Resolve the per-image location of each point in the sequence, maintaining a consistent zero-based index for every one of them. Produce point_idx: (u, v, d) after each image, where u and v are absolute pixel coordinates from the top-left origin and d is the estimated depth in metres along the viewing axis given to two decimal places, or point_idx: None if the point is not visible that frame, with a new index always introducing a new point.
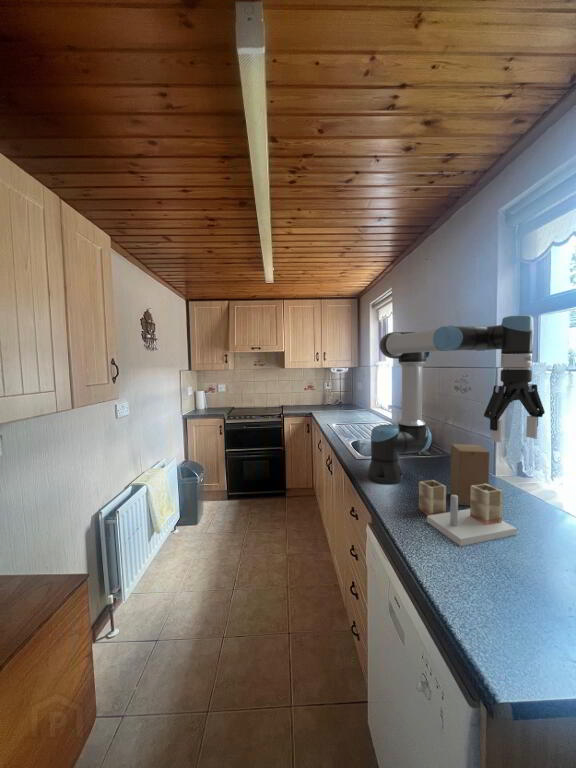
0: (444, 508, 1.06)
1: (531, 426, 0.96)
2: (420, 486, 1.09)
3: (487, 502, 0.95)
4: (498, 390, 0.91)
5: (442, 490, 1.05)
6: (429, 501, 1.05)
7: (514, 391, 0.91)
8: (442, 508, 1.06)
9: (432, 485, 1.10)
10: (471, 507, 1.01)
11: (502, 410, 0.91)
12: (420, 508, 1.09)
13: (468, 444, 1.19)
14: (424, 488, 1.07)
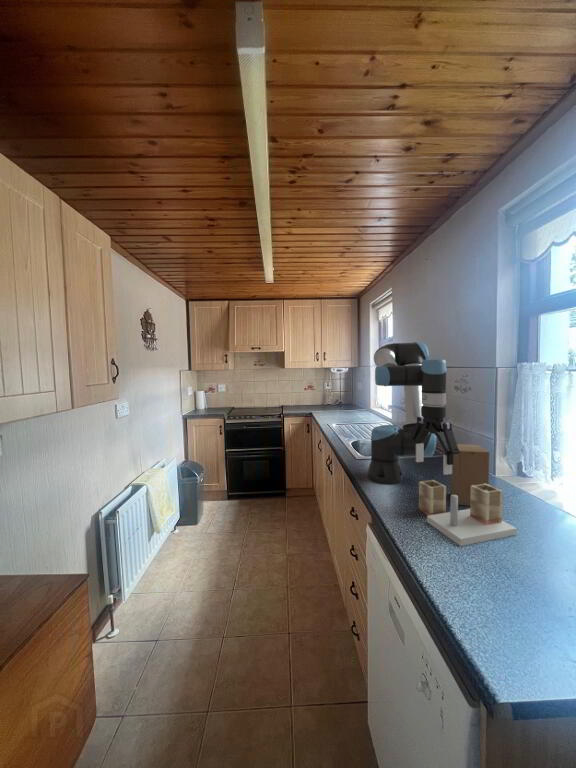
0: (444, 508, 1.06)
1: None
2: (420, 486, 1.09)
3: (487, 502, 0.95)
4: None
5: (442, 490, 1.05)
6: (429, 501, 1.05)
7: None
8: (442, 508, 1.06)
9: (432, 485, 1.10)
10: (471, 507, 1.01)
11: (418, 436, 1.12)
12: (420, 508, 1.09)
13: (468, 444, 1.19)
14: (424, 488, 1.07)
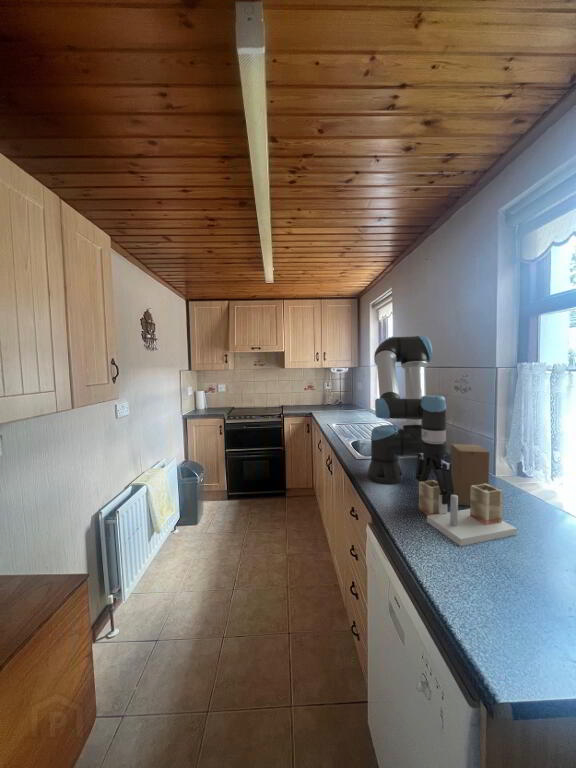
0: None
1: None
2: (420, 486, 1.09)
3: (487, 502, 0.95)
4: None
5: None
6: (429, 501, 1.05)
7: None
8: None
9: (432, 485, 1.10)
10: (471, 507, 1.01)
11: (421, 475, 1.11)
12: (420, 508, 1.09)
13: (468, 444, 1.19)
14: (424, 488, 1.07)
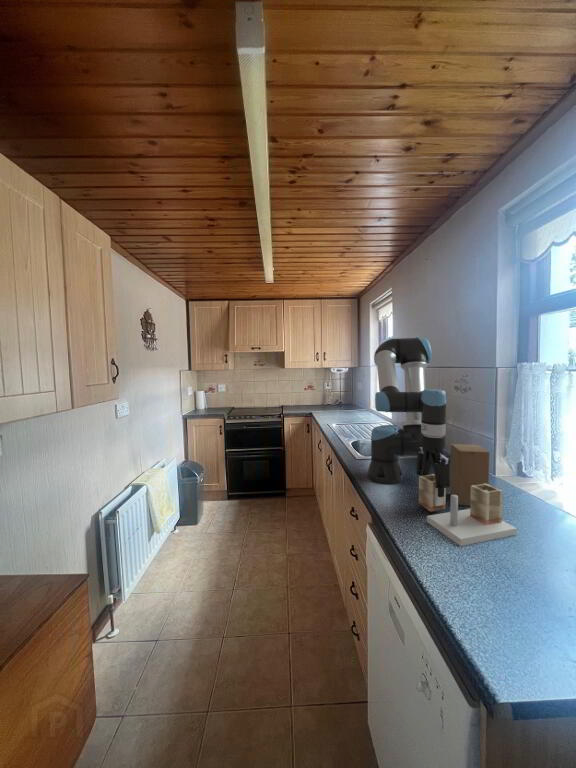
0: (444, 502, 1.06)
1: None
2: (420, 480, 1.09)
3: (487, 502, 0.95)
4: None
5: None
6: (429, 495, 1.05)
7: None
8: None
9: (432, 479, 1.10)
10: (471, 507, 1.01)
11: (422, 470, 1.11)
12: (420, 502, 1.10)
13: (468, 444, 1.19)
14: (424, 482, 1.07)
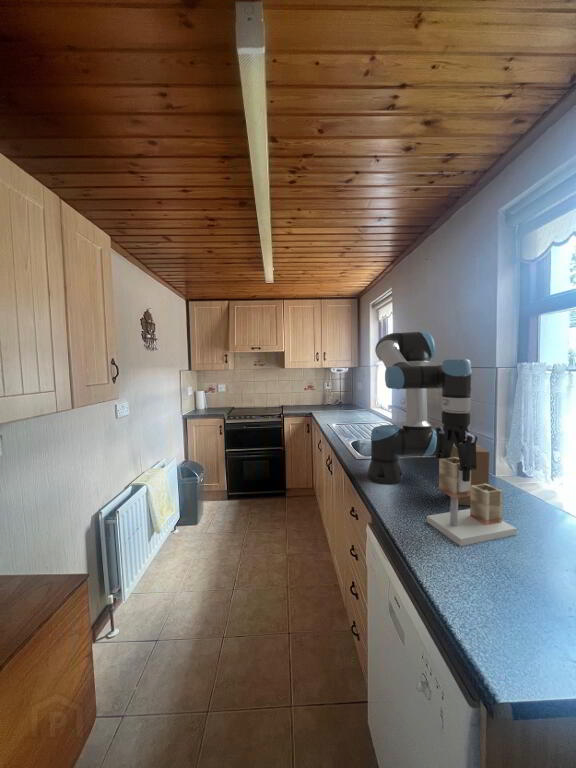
0: (469, 488, 0.93)
1: None
2: (441, 463, 0.96)
3: (487, 502, 0.95)
4: None
5: None
6: (452, 480, 0.92)
7: None
8: None
9: (454, 463, 0.97)
10: (471, 507, 1.01)
11: (443, 452, 0.98)
12: (441, 489, 0.97)
13: None
14: (446, 465, 0.94)
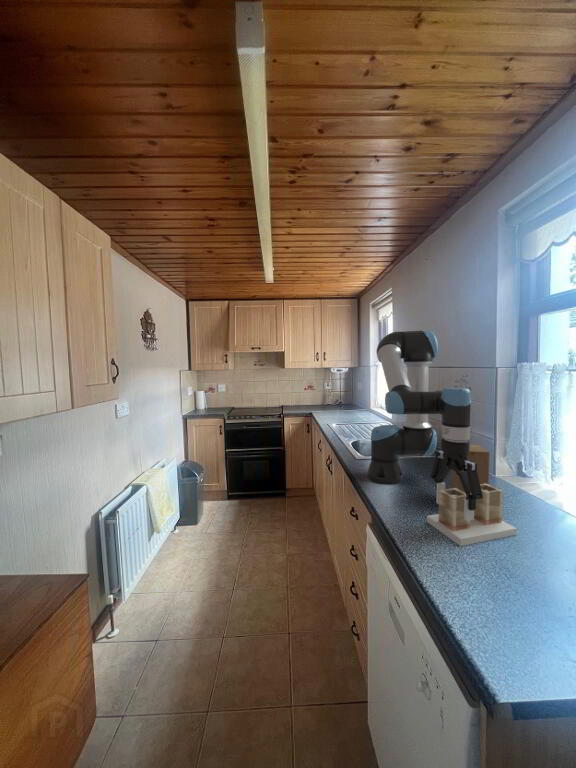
0: (468, 520, 0.94)
1: None
2: (440, 495, 0.97)
3: (487, 502, 0.95)
4: None
5: None
6: (451, 513, 0.93)
7: None
8: None
9: (454, 494, 0.98)
10: None
11: (439, 474, 1.00)
12: (440, 520, 0.97)
13: None
14: (445, 498, 0.95)
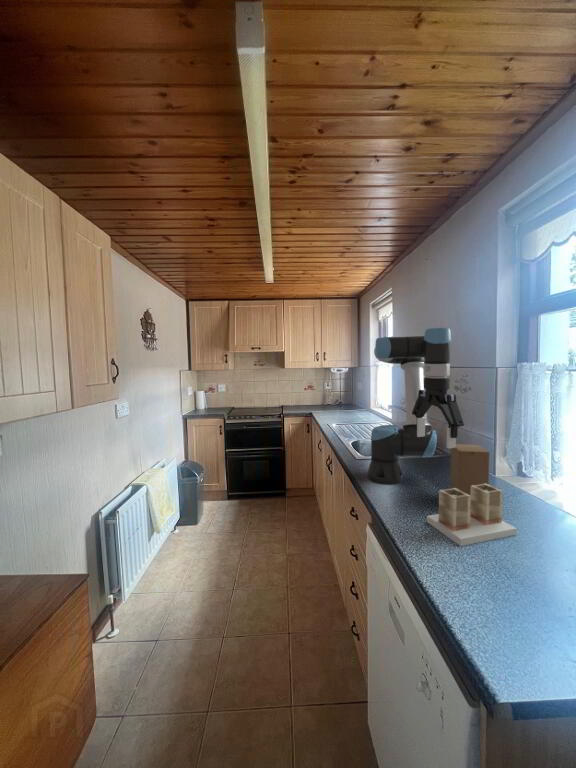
0: (468, 520, 0.94)
1: None
2: (440, 495, 0.97)
3: (487, 502, 0.95)
4: None
5: (466, 500, 0.93)
6: (451, 513, 0.93)
7: None
8: (466, 520, 0.93)
9: (454, 494, 0.98)
10: (471, 507, 1.01)
11: (420, 410, 1.07)
12: (440, 520, 0.97)
13: (468, 444, 1.19)
14: (445, 498, 0.95)
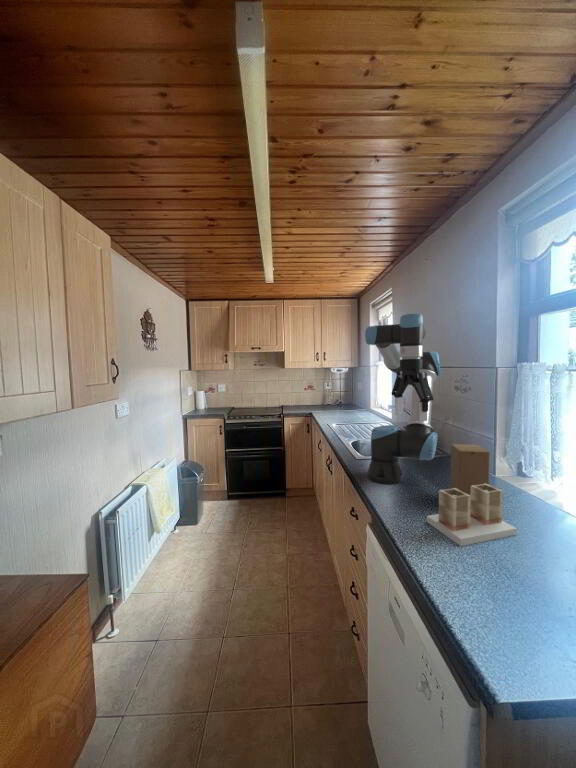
0: (468, 520, 0.94)
1: None
2: (440, 495, 0.97)
3: (487, 502, 0.95)
4: None
5: (466, 500, 0.93)
6: (451, 513, 0.93)
7: None
8: (466, 520, 0.93)
9: (454, 494, 0.98)
10: (471, 507, 1.01)
11: (397, 390, 1.18)
12: (440, 520, 0.97)
13: (468, 444, 1.19)
14: (445, 498, 0.95)
